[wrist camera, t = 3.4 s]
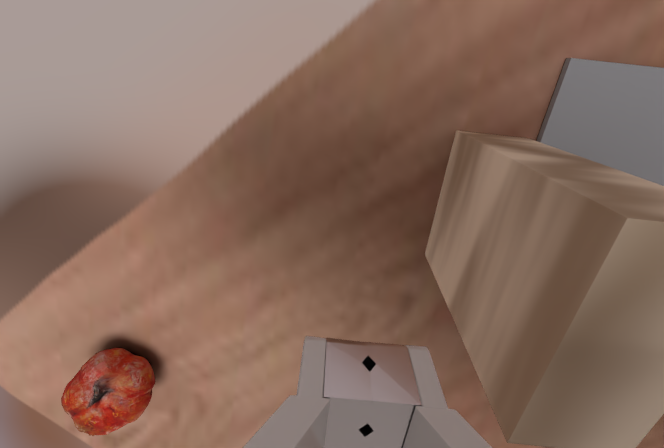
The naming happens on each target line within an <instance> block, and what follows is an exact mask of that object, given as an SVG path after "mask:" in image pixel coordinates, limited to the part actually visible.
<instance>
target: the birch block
mask: <svg viewBox="0 0 664 448" xmlns="http://www.w3.org/2000/svg"><path fill="white" fill-rule="evenodd" d="M425 256H426V258H427V261H428V263H429V265H430V267H431V270H432V272H433V274H434V277H435V279H436V281H437V283H438V286H439V288H440V290H441V293H442V295H443V297H444V299H445V302H446V304H447V306H448V309H449V311H450V313H451V315H452V318H453V320H454V322H455V325H456V327H457V329H458V331H459V334H460V336H461V338H462V341H463V343H464V345H465V347H466V350H467V352H468V354H469V357H470V359H471V361H472V363H473V366H474V368H475V370H476V373H477V375H478V377H479V379H480V382H481V384H482V386H483V389H484V391H485V393H486V395H487V398H488V400H489V402H490V405H491V407H492V409H493V411H494V414H495V416H496V418H497V421H498V423H499V425H500V427H501V430H502V432H503V434H504V437H505V439H506V441H507V443H514V444H524V445H534V446H543V447H553V448H636V447H637V446H638V444H639V443H640V442H641V441H642V439H643V438H644V437H645V436H646V435H647V433H648V432H649V431H650V430H651V428H652V427H653V426H654V425H655V424H656V422H657V421H658V420H659V419H660V418H661V416H662V415H663V414H664V186H662V185H659V184H657V183H654V182H651V181H648V180H645V179H642V178H640V177H637V176H634V175H631V174H628V173H625V172H623V171H620V170H617V169H614V168H611V167H608V166H606V165H603V164H600V163H597V162H594V161H591V160H589V159H586V158H583V157H580V156H577V155H574V154H572V153H569V152H566V151H563V150H560V149H557V148H555V147H552V146H549V145H546V144H543V143H540V142H538V141H535V140H532V139H529V138H523V137H514V136H504V135H495V134H485V133H476V132H466V131H457V130H456V133H455V137H454V141H453V145H452V149H451V153H450V157H449V161H448V165H447V169H446V173H445V177H444V181H443V185H442V188H441V192H440V196H439V200H438V204H437V208H436V212H435V216H434V220H433V224H432V228H431V232H430V236H429V240H428V244H427V247H426V251H425Z"/></svg>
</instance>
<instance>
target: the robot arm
mask: <svg viewBox="0 0 664 448" xmlns="http://www.w3.org/2000/svg"><path fill="white" fill-rule="evenodd" d="M243 448H492V447H491V446H490V445H489V444H488V443H487V442H486V441H485V440H484V439H483V438H482V437H481V436H480V435H479V434H478V433H477V432H476V431H475V430H474V429H473V428H472V427H471V425H470V424H469V423H468V422H467V421H466V420H465V419H464V418H463V417H462V416H461V415H460V414H459V413H458V412H457V411H456V410H454V409H448V407H447V403H446V400H445V397H444V394H443V391H442V388H441V385H440V382H439V379H438V376H437V373H436V370H435V367H434V364H433V361H432V358H431V355H430V352H429V349H428V348H427V347H424V346H411V345H406V346H405V345H398V344H385V343H373V342H359V341H351V340H342V339H333V338H320V337H312V336H306V337H305V340H304V346H303V353H302V360H301V367H300V375H299V382H298V389H297V396H295V395H290V396H289V397H288V398H287V399H286V400H285V401H284V402H283V403H282V405H281V406H280V407H279V408H278V409H277V410H276V411H275V412H274V413H273V415H272V416H271V417H270V418H269V419H268V420H267V421H266V422H265V423H264V425H263V426H262V427H261V428H260V429H259V430H258V431H257V432H256V433H255V435H254V436H253V437H252V438H251V439H250V440H249V441H248V442H247V443H246V445H245V446H244V447H243Z"/></svg>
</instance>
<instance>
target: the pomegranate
mask: <svg viewBox="0 0 664 448" xmlns="http://www.w3.org/2000/svg"><path fill="white" fill-rule="evenodd" d="M154 384H155V376H154V373H153V370H152V367H151V365H150V364H149V362H148V361H147V359H145V358H144V357H141V356H136V355H133V354H132V353H130V352H129V351H127V350H125V349H123V348H113V349H106V350H103V351H100V352H98V353H96V354H95V355H94V356H93V357H92V358H90V359H89V360H88V361H87V362H86V363H85V364H84V365H83V366H82V367H81V369H80V371H79V372H78V373H77V374H76V375H75V377H74V378H73V379H72V380H71V381H70V382H69V383H68V384H67V386H66V388H65V390H64V393H63V396H62V398H61V402H62V406H63V408H64V410H65V412H66V413H67V414H69V415H70V416H71V418H72V419H73V421H74V424H75V427H76V428H77V429H78V430H79V431H80V432H85V433H88V434H89V435H92V436H94V435H106V434H108V433H110V432H112V431H114V430H117V429H119V428H121V427H123V426H124V425H126V424H127V423H131V422H133V421H135V420H137V419H138V418H139V417H140V416H141V414H142V413H143V412H144V410H145V409H146V407H147V406H148V404H149V402H150V399H151V396H152V388H153V386H154Z"/></svg>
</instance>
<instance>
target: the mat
mask: <svg viewBox="0 0 664 448" xmlns="http://www.w3.org/2000/svg"><path fill="white" fill-rule="evenodd" d="M537 141H538V142H540V143H543V144H546V145H549V146H552V147H555V148H557V149H560V150H563V151H566V152H569V153H572V154H574V155H577V156H580V157H583V158H586V159H589V160H591V161H594V162H597V163H600V164H603V165H606V166H608V167H611V168H614V169H617V170H620V171H623V172H625V173H628V174H631V175H634V176H637V177H640V178H642V179H645V180H648V181H651V182H654V183H657V184H659V185H662V186H664V68H659V67H649V66H640V65H631V64H622V63H612V62H603V61H594V60H584V59H575V58H566V61H565V63H564V66H563V69H562V72H561V74H560V77H559V80H558V83H557V85H556V88H555V91H554V94H553V96H552V99H551V102H550V105H549V107H548V110H547V113H546V116H545V118H544V121H543V124H542V127H541V130H540V132H539V135H538V138H537Z"/></svg>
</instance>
